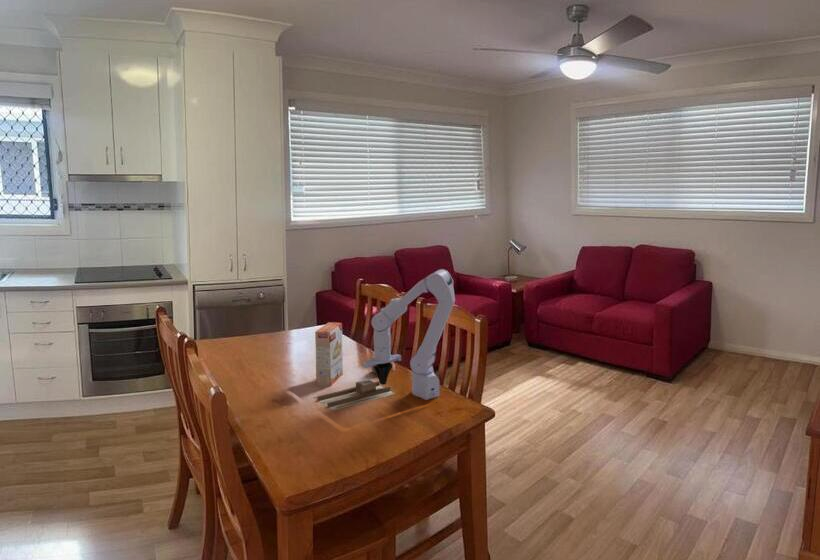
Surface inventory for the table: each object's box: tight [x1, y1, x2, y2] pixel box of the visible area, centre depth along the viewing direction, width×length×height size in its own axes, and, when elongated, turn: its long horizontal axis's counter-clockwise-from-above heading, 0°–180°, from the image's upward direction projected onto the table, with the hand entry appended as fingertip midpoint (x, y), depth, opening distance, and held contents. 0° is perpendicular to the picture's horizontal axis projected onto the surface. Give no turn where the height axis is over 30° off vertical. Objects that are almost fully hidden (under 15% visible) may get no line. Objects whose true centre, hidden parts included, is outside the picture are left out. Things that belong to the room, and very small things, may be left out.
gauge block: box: [355, 378, 376, 394], centre depth 197 cm, size 5×5×4 cm
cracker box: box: [314, 321, 344, 387], centre depth 209 cm, size 14×6×21 cm, turn 168°
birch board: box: [313, 380, 396, 411], centre depth 195 cm, size 14×24×2 cm, turn 126°
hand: (382, 383), depth 201 cm, fingers closed
